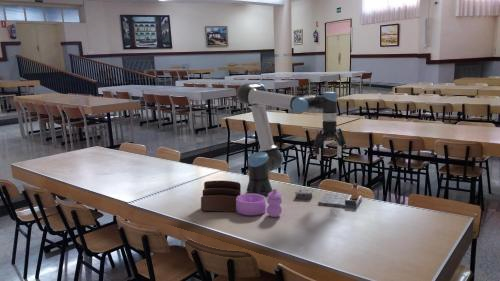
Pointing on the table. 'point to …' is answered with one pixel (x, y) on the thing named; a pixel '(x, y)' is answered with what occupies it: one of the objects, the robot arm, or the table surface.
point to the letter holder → (220, 196)
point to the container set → (259, 204)
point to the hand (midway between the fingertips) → (329, 158)
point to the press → (340, 201)
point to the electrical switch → (304, 193)
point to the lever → (354, 192)
